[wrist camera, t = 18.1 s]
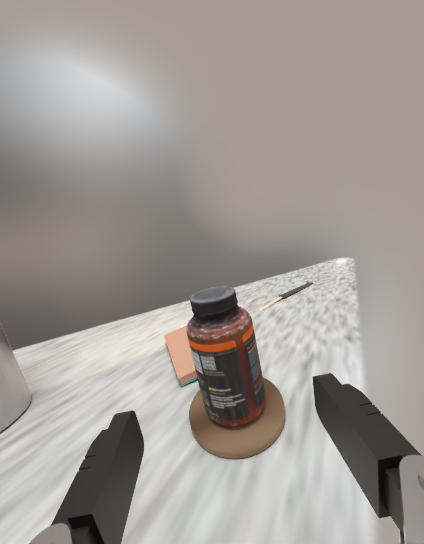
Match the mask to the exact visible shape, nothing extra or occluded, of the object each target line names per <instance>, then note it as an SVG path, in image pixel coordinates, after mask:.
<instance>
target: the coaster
mask: <svg viewBox="0 0 424 544" xmlns="http://www.w3.org/2000/svg"><path fill="white" fill-rule="evenodd" d="M262 378H263V377H262ZM263 383H264V389H265V397H266V399H265V405H264V408H263V410H262V412H261V414H260V415H259V416H258V417H257V418H256V419H254V420H253V421H251V422H250V423H247V424H245V425H242V426H238V427H227V426H222V425H220V424H218V423H216V422H214V421H213V420H212V419H211V418H210V417H209V416H208V414H207V412H206V410H205V406H204V403H203V399H202V395H201V391H200V390H199V391H198V393H197V394H196V395H195V397H194V399H193V401H192V403H191V406H190V411H189V418H190V424H191V428H192V431H193V434H194V436H195V439H196V440H197V441H198V443H199V444H200V445H201V446H202V447H203V448H204V449H205V450H207V451H208V452H210V453H212V454H214V455H216V456H219V457H223V458H228V459H241V458H246V457H251V456H253V455H256V454H258V453H260V452H262V451H264V450H265V449H267V448H268V447H270V446H271V445H272V444H273V443H274V442H275V440H276V439H277V438H278V437H279V435H280V433H281V431H282V429H283V426H284V422H285V410H284V403H283V399H282V396H281V394H280V392H279V390H278V389H277V388H276V387H275V385H274V384H272V383H271V382H270V381H269V380H267V379H265V378H263Z"/></svg>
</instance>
